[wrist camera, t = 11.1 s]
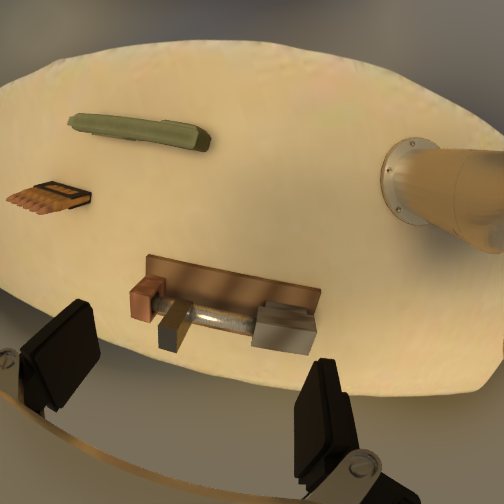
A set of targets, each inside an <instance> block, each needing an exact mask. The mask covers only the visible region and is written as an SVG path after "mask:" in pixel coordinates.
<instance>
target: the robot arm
mask: <svg viewBox="0 0 504 504" xmlns="http://www.w3.org/2000/svg"><path fill="white" fill-rule="evenodd" d="M410 143H411V145H410ZM387 169H388V172H387ZM381 188H382V192H383V196H384V199H385V201H386V203H387V205H388V207H389V208H390V210H391V211H392V212H393V213H394V214H395V215H396V216H397V217H398V218H400V219H401V220H402V221H404V222H406V223H408V224H412V225H417V226H422V225H428V224H430V223H432V224H434V225H436V226H438V227H440V228H442V229H444V230H446V231H447V232H449V233H451V234H453V235H455V236H457V237H458V238H460V239H462V240H464V241H465V242H467V243H469V244H471V245H472V246H474V247H476V248H477V249H479V250H481V251H483V252H486V253H491V254H499V253H503V252H504V151H489V150H472V149H441V148H440V147H438V146H437V145H436V144H435V143H433V142H431V141H430V140H427V139H424V138H409V139H405V140H402V141H401V142H399V143H397V144H396V145H395V146H394V147H393V148H392V149H391V150H390V151H389V153H388V154H387V156H386V158H385V160H384V163H383V167H382V171H381ZM396 207H397V210H396ZM20 351H21V353H20V354H18V352H17V351H16V350H14V349H12V348H4V349H1V350H0V504H421V501H420V498H419V497H418V495H417V494H415V493H414V492H413V491H411V490H409V489H407V488H406V487H404V486H403V485H401V484H399V483H398V482H396V481H395V480H393V479H391V478H390V477H388V476H386V475H385V474H384V473H382V472H381V470H382V463H381V460H380V458H379V457H378V456H377V455H376V454H375V453H374V452H372V451H370V450H367V449H360V448H359V443H358V438H357V433H356V428H355V422H354V417H353V413H352V408H351V403H350V398H349V395H348V394H347V392H342V390H341V385H340V381H339V376H338V371H337V367H336V362H335V360H334V359H326V358H320V359H319V360H318V361H314V362H313V365H312V367H311V369H310V372H309V374H308V376H307V378H306V381H305V383H304V385H303V387H302V389H301V392H300V394H299V396H298V398H297V400H296V402H295V406H294V476H295V478H299V484H306V490H307V491H308V493H307V494H306V495H305V496H304V497H302V498H301V499H300V500H299V499H287V498H278V497H267V496H258V495H250V494H243V493H237V492H231V491H225V490H219V489H214V488H210V487H205V486H201V485H196V484H192V483H189V482H185V481H181V480H178V479H174V478H171V477H167V476H164V475H161V474H158V473H155V472H152V471H149V470H146V469H144V468H141V467H138V466H135V465H133V464H130V463H128V462H126V461H123V460H121V459H118V458H116V457H114V456H112V455H109V454H107V453H105V452H103V451H101V450H99V449H96V448H94V447H93V446H91V445H89V444H87V443H85V442H83V441H81V440H79V439H77V438H76V437H74V436H72V435H70V434H68V433H67V432H65V431H63V430H62V429H60V428H58V427H57V426H55V425H54V424H52V423H50V422H49V421H47V420H46V419H45V413H44V408H45V406H46V405H47V407H48V408H50V409H51V410H53V411H55V412H57V411H58V409H59V408H63V407H64V405H65V404H66V403H67V401H68V400H69V398H70V397H71V396H72V394H73V393H74V392H75V390H76V389H77V388H78V386H79V385H80V384H81V382H82V381H83V380H84V378H85V377H86V376H87V374H88V373H89V372H90V370H91V369H92V368H93V367H94V365H95V364H96V363H97V361H98V360H99V358H100V354H101V353H100V348H99V343H98V338H97V333H96V327H95V321H94V315H93V309H92V307H91V306H90V304H89V303H88V302H86V301H83V300H81V299H76V300H75V301H73V302H72V303H71V304H70V305H69V306H67V307H66V308H65V309H64V310H63V311H61V312H60V313H59V314H58V315H57V316H56V317H54V318H53V319H52V320H51V321H50V322H49V323H48V324H46V325H45V326H44V327H43V328H42V329H41V330H40V331H39V332H38V333H36V334H35V335H34V336H33V337H32V338H31V339H30V340H29V341H28V342H27V343H26V344H25V345H23V346H22V347H21V348H20ZM503 358H504V340H503Z"/></svg>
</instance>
